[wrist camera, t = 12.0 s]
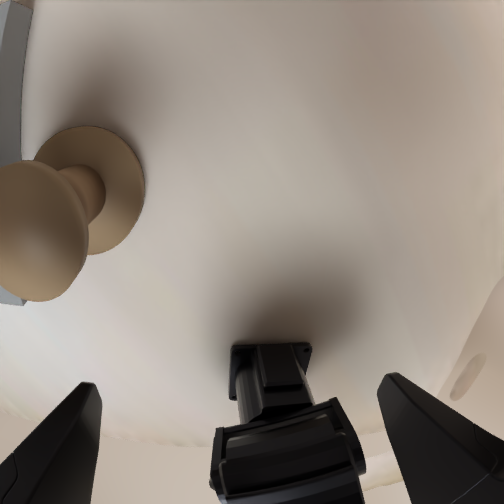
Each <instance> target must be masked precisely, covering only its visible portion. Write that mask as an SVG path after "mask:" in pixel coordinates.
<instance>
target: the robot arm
mask: <svg viewBox="0 0 504 504" xmlns="http://www.w3.org/2000/svg"><path fill="white" fill-rule="evenodd" d="M305 348H307V349H305ZM236 351H239V352H236ZM311 353H312V346H311V344H310V343H288V344H264V345H235V346H233V347H232V348H231V353H230V373H229V399H230V400H234V401H238V409H239V417H240V425H235V426H231V427H225V428H224V427H219V428H216V433H215V437H214V442H213V451H212V461H211V471H210V480H209V485H210V487H211V488H212V489H213V490H215V491H216V494H217V496H218V498H219V500H220V502H221V504H365V501H364V497H363V493H362V489H361V485H360V481H359V477H358V476H360V475H362V474H365V473H366V463H365V458H364V454H363V451H362V447H361V444H360V442H359V439H358V437H357V434H356V432H355V430H354V428H353V426H352V425H351V423H350V421H349V419H348V417H347V415H346V414H345V412H344V410H343V408H342V406H341V405H340V403H339V401H338V399H337V397H334V398H331V399H329V401H326V402H323V403H320V404H317V405H315V402H314V399H313V396H312V394H311V391H310V388H309V385H308V382H307V379H306V377H305V375H306V371H307V368H308V364H309V360H310V357H311ZM234 395H235V396H234ZM377 397H378V401H379V405H380V408H381V412H382V416H383V420H384V424H385V428H386V431H387V435H388V437H389V440H390V443H391V446H392V448H393V451H394V454H395V457H396V459H397V462H398V465H399V468H400V471H401V474H402V476H403V479H404V482H405V485H406V488H407V491H408V494H409V497H410V500H411V503H412V504H504V441H503V440H501V439H500V438H498V437H496V436H494V435H492V434H491V433H489V432H487V431H486V430H484V429H482V428H481V427H479V426H478V425H476V424H473V422H471V421H470V420H468V419H467V418H465V417H464V416H462V415H461V414H459V413H458V412H456V411H455V410H453V409H452V408H450V407H449V406H447V405H445V404H444V403H443V402H441V401H439V400H438V399H437V398H435V397H434V396H432V395H431V394H429V393H428V392H426V391H425V390H423V389H422V388H420V387H419V386H417V385H416V384H414V383H413V382H411V381H410V380H408V379H407V378H405V377H404V376H402V375H401V374H399V373H397V372H393V373H388V374H386V375H385V376H384V378H383V380H382V382H381V384H380V386H379V388H378V391H377ZM101 415H102V400H101V397H100V395H99V392H98V390H97V387H96V385H95V384H94V383H90V382H81V383H80V384H79V385H78V386H77V387H76V388H75V389H74V390H73V391H72V392H71V393H70V394H69V395H68V396H67V397H66V398H65V399H64V400H63V401H62V402H61V403H60V404H59V405H58V406H57V407H56V408H55V409H54V410H53V411H52V412H51V413H50V414H49V415H48V416H47V417H46V418H45V419H44V420H43V421H42V422H41V423H40V424H39V425H38V426H37V427H36V428H35V429H34V430H33V431H32V432H31V434H29V435H28V437H27V438H26V439H25V440H24V441H23V442H22V443H21V444H20V445H19V446H18V447H17V448H16V449H15V450H14V451H13V453H11V454H10V455H9V456H8V457H7V458H6V459H5V460H4V461H3V462H2V463H1V464H0V504H90V502H91V495H92V488H93V481H94V475H95V469H96V463H97V457H98V451H99V439H100V426H101Z"/></svg>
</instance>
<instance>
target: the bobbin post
mask: <svg viewBox="0 0 504 504" xmlns="http://www.w3.org/2000/svg"><path fill="white" fill-rule="evenodd" d="M144 195H145V185H144V177H143V172H142V169H141V166H140V163H139V161H138V159H137V157H136V155H135V154H134V152H133V150H132V149H131V148H130V147H129V145H128V144H127V143H126V142H125V141H124V140H123V139H121V138H120V137H119V136H117V135H116V134H114V133H113V132H111V131H108V130H106V129H103V128H100V127H94V126H82V127H75V128H70V129H67V130H64V131H61V132H59V133H58V134H56V135H54V136H53V137H51V138H50V139H49V140H48V141H47V142H46V143H45V144H44V145H43V146H42V147H41V148H40V150H39V151H38V153H37V154H36V156H35V158H34V160H33V161H32V160H22V161H18V162H14V163H11V164H9V165H6V166H3V167H1V168H0V285H1V286H2V287H3V288H4V289H5V290H7V291H8V292H10V293H11V294H13V295H15V296H17V297H19V298H22V299H25V300H28V301H34V302H43V301H49V300H52V299H54V298H56V297H58V296H60V295H61V294H63V293H64V292H65V291H66V290H67V289H68V288H69V287H70V285H71V284H72V282H73V281H74V279H75V278H76V277H77V275H78V274H79V272H80V271H81V269H82V267H83V265H84V263H85V260H86V257H87V255H94V254H100V253H103V252H106V251H108V250H110V249H112V248H114V247H115V246H117V245H118V244H119V243H121V242H122V241H123V240H124V239H125V238H126V236H127V235H128V234H129V233H130V231H131V230H132V228H133V227H134V225H135V223H136V222H137V220H138V218H139V216H140V213H141V210H142V207H143V202H144Z"/></svg>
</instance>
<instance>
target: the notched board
mask: <svg viewBox="0 0 504 504" xmlns="http://www.w3.org/2000/svg"><path fill="white" fill-rule="evenodd" d="M32 13H33V10H32V9H30V8H27V7H25V6H23V5H21V4H19V3H17V2H14V1H12V0H9V1H7V2H5V3H2V4H0V168H1V167H3V166H6V165H9V164H11V163H14V162H18V161H21V139H20V119H21V93H22V79H23V69H24V60H25V53H26V46H27V39H28V33H29V28H30V23H31V18H32ZM26 302H27V300H25V299H22V298H19V297H17V296H15V295H13V294H11V293H10V292H8V291H7V290H5V289H4V288H3V287H2V286H1V285H0V303H2V304H10V305H18V306H24V304H25V303H26Z"/></svg>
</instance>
